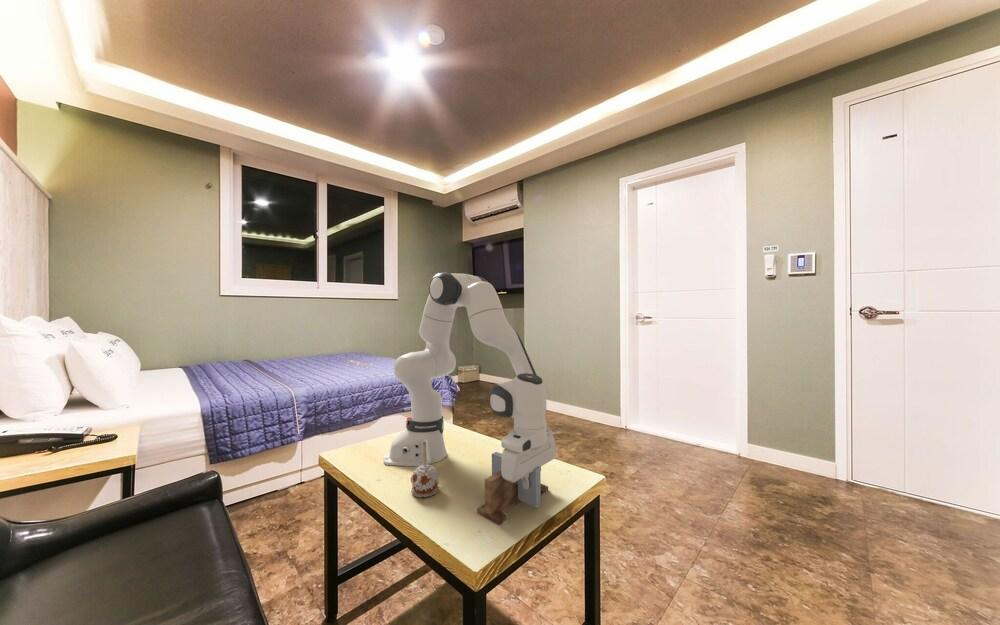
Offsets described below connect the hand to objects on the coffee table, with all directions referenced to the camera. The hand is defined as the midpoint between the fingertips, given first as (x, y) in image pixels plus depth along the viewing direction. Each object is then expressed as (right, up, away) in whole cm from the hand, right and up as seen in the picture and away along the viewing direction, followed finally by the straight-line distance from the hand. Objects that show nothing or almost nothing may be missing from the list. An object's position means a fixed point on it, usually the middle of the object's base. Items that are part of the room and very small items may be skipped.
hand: (530, 485), depth 97 cm
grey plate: (-4, -5, +4) cm, 7 cm away
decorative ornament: (-31, -7, +9) cm, 33 cm away
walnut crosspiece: (-4, -6, +4) cm, 8 cm away
